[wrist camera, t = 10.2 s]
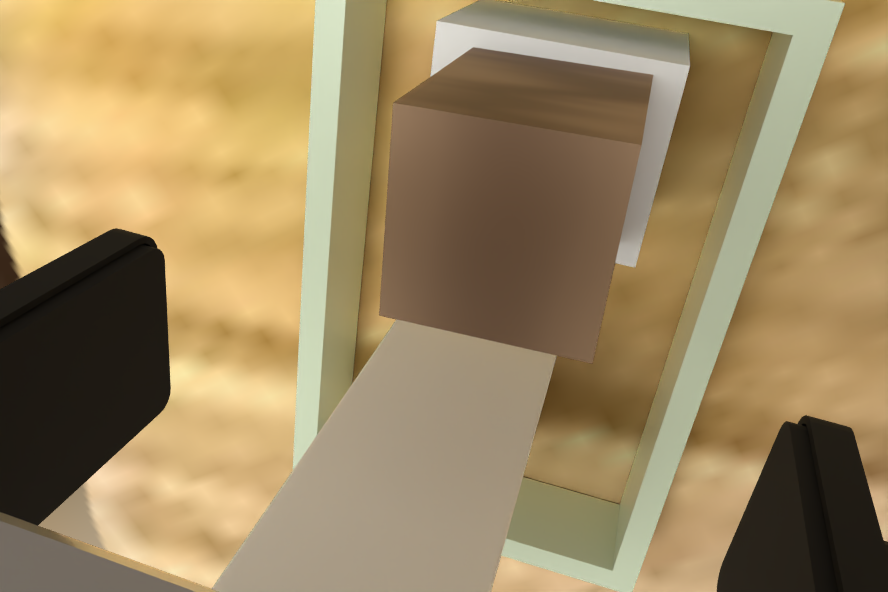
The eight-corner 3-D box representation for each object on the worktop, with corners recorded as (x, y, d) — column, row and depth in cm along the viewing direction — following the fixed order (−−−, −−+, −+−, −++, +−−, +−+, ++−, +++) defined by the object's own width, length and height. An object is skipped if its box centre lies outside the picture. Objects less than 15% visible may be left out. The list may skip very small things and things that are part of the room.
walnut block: (653, 74, 21) (641, 145, 15) (616, 243, 23) (592, 363, 17) (473, 47, 22) (393, 102, 16) (454, 212, 24) (379, 315, 18)
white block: (688, 33, 26) (690, 65, 20) (643, 201, 29) (635, 267, 23) (484, -2, 27) (436, 20, 22) (460, 162, 30) (414, 217, 25)
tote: (821, -12, 24) (845, 3, 21) (636, 527, 35) (631, 595, 32) (366, -87, 27) (319, -85, 23) (327, 437, 38) (291, 491, 34)
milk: (431, 266, 32) (62, 787, 13) (570, 318, 31) (395, 948, 12) (398, 381, 35) (59, 941, 16) (524, 431, 34) (326, 1077, 15)
